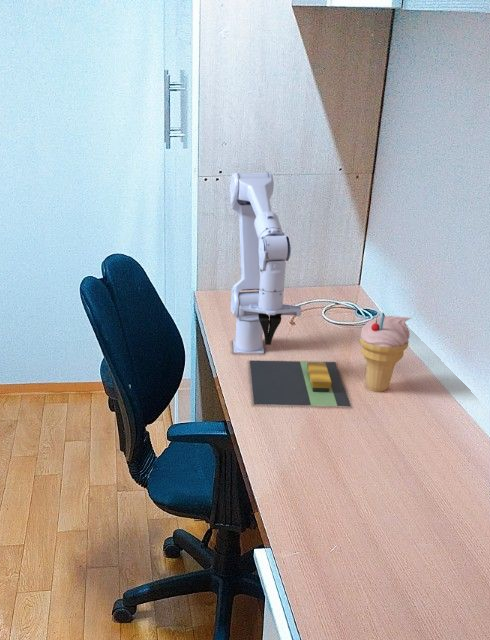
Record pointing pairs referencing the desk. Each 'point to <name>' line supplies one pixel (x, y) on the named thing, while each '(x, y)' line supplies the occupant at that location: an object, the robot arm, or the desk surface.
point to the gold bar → (319, 376)
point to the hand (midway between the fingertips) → (267, 343)
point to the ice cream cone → (383, 349)
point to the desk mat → (293, 385)
